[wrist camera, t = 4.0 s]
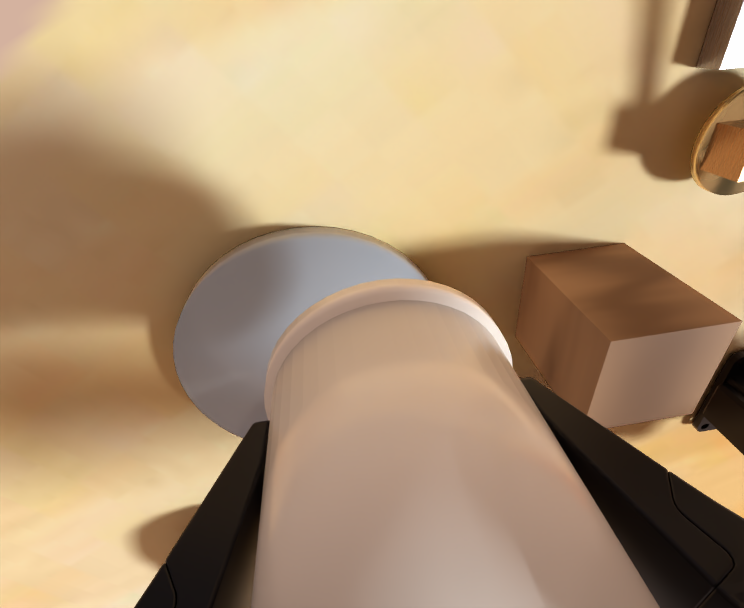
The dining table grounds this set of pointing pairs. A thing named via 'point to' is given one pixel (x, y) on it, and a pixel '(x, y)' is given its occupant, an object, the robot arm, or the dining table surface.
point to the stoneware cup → (420, 468)
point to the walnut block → (620, 334)
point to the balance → (722, 107)
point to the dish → (266, 311)
